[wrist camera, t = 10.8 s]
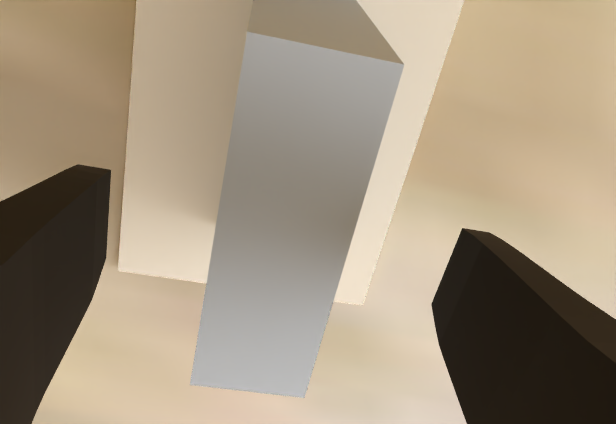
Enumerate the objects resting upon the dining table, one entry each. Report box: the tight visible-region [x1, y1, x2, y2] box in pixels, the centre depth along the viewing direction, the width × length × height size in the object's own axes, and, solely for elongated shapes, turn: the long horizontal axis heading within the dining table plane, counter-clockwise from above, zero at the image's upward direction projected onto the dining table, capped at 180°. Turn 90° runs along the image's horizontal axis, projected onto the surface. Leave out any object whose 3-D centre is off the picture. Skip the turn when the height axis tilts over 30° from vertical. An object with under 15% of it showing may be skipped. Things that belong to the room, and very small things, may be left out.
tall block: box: [190, 0, 404, 398], centre depth 16 cm, size 3×9×8 cm, turn 168°
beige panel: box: [118, 0, 464, 306], centre depth 19 cm, size 16×10×1 cm, turn 168°
